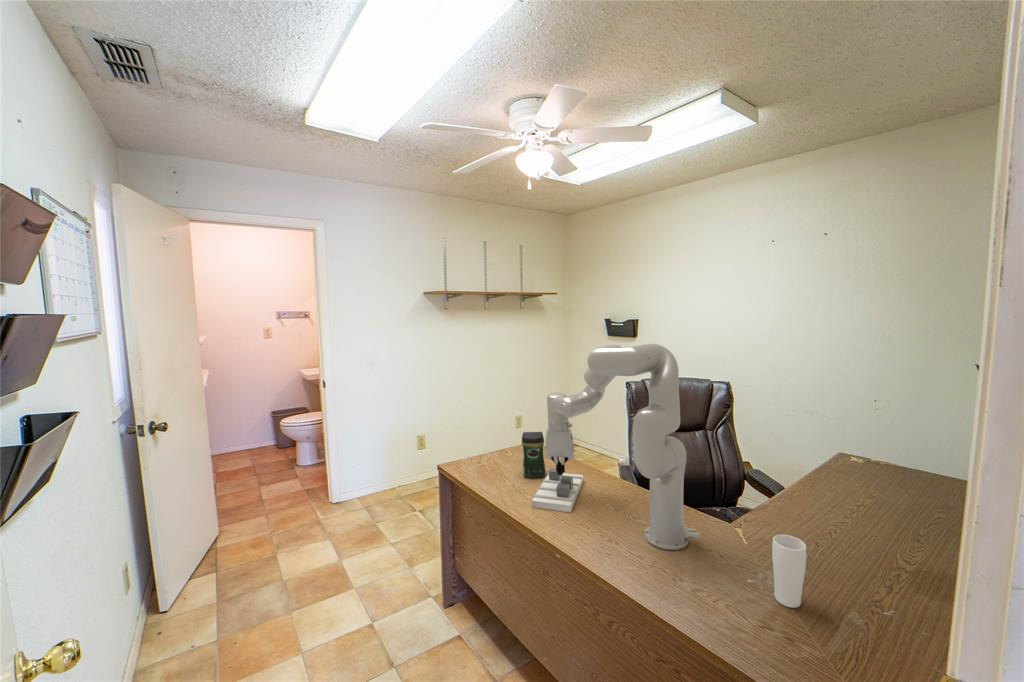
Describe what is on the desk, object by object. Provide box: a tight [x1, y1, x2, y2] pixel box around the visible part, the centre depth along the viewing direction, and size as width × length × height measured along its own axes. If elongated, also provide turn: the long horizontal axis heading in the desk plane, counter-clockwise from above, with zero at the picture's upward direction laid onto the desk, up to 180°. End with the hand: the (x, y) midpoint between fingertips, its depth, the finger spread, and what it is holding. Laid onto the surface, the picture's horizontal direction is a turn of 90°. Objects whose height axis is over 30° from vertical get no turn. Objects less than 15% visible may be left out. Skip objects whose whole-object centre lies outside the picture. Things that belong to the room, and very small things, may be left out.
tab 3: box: [557, 483, 570, 498], centre depth 154 cm, size 4×4×3 cm
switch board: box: [531, 472, 584, 513], centre depth 161 cm, size 14×26×3 cm, turn 161°
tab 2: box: [561, 476, 573, 490], centre depth 160 cm, size 4×4×3 cm
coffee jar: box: [520, 431, 546, 479], centre depth 178 cm, size 10×8×19 cm
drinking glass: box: [771, 534, 807, 609], centre depth 101 cm, size 7×7×15 cm
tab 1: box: [548, 467, 561, 481], centre depth 168 cm, size 4×4×3 cm
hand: (560, 473), depth 160 cm, fingers closed
